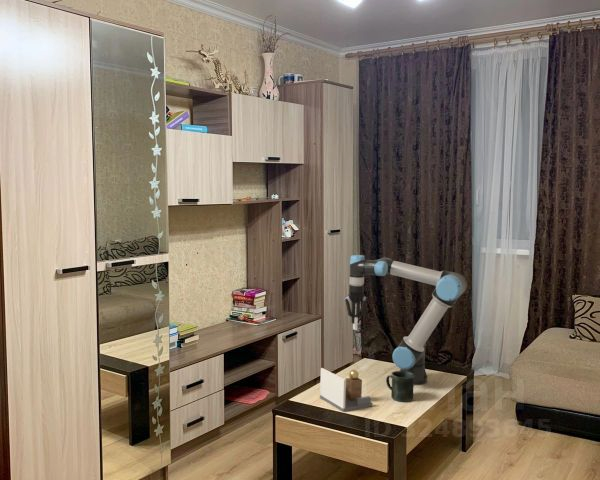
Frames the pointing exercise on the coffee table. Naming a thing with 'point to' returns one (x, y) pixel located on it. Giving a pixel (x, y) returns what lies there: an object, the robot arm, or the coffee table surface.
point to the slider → (353, 386)
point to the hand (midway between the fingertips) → (355, 329)
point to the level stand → (339, 393)
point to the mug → (401, 385)
